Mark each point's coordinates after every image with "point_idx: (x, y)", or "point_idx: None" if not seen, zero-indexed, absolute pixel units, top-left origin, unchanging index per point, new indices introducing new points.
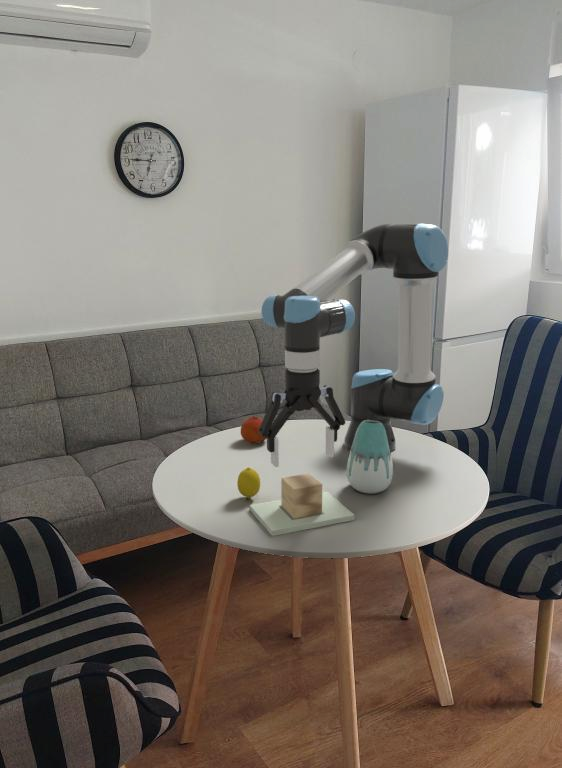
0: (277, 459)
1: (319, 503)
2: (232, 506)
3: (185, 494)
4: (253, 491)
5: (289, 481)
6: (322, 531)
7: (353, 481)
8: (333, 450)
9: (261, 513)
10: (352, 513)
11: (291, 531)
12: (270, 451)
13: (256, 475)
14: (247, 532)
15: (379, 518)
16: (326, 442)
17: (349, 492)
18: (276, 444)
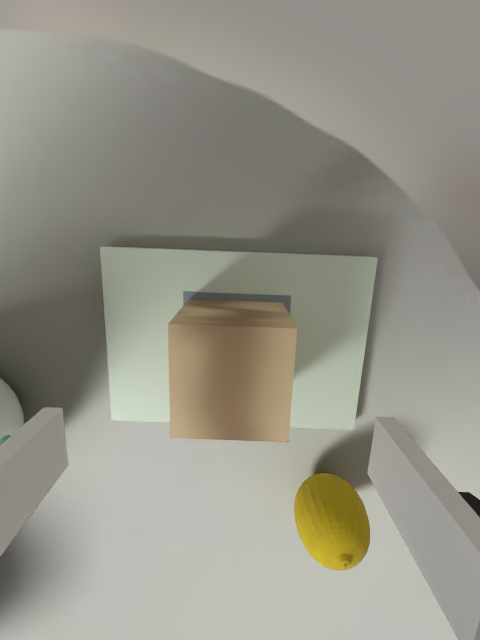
0: (402, 442)
1: (192, 306)
2: None
3: None
4: (327, 478)
5: (276, 401)
6: (227, 220)
7: (11, 414)
8: (22, 428)
9: (350, 370)
10: (101, 258)
11: (312, 254)
12: (469, 497)
13: (322, 524)
14: (420, 306)
15: (29, 222)
16: (26, 510)
17: None
18: (474, 523)
